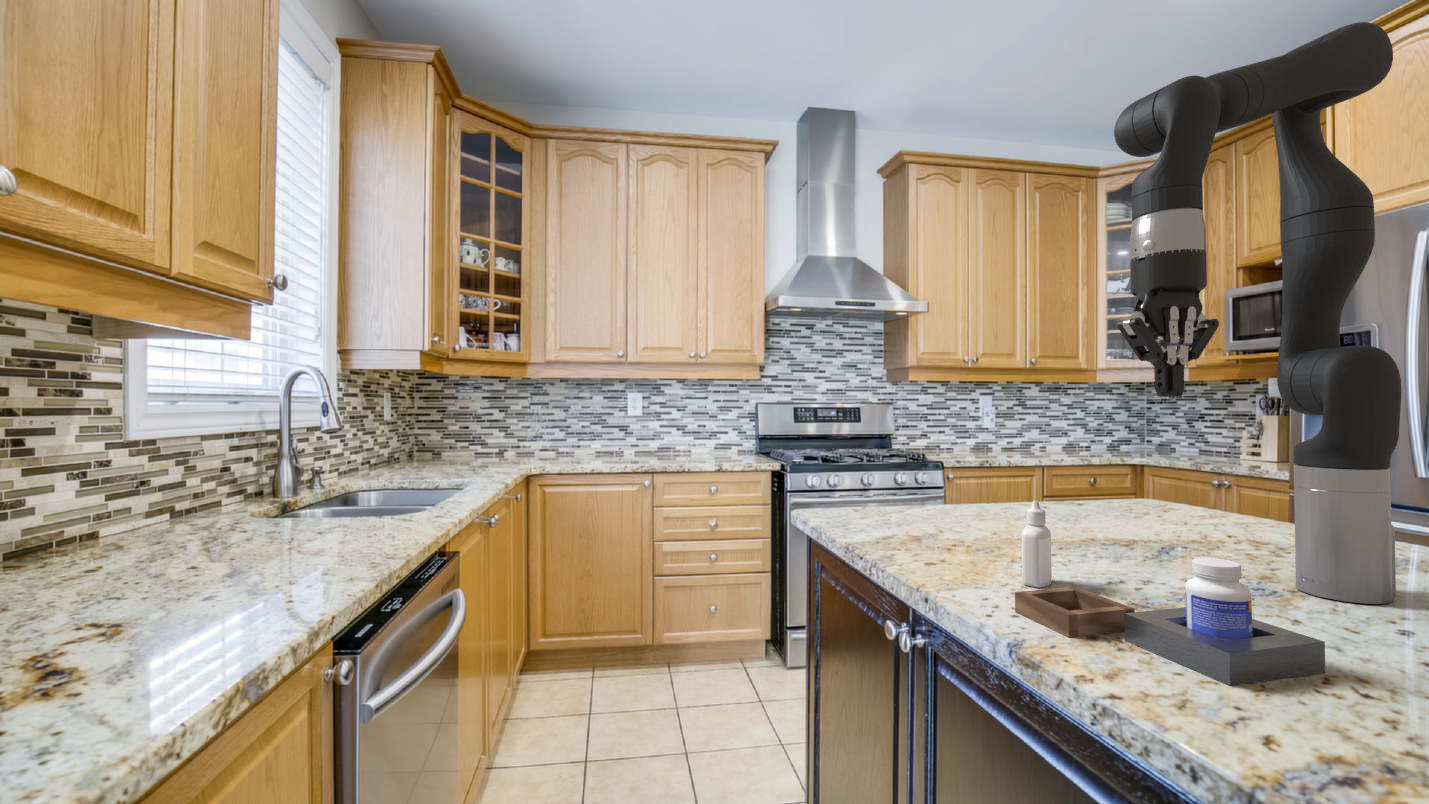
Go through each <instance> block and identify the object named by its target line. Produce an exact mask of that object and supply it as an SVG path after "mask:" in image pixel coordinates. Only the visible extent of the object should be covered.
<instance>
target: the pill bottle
mask: <svg viewBox="0 0 1429 804" xmlns="http://www.w3.org/2000/svg"><path fill="white" fill-rule="evenodd" d="M1191 565H1192V568H1191V569H1192V574H1193V575H1195V577H1193V578H1190V579H1188V580H1187V581H1186V582H1185V586H1184V588H1185V590H1184V591H1185V607H1186V620H1187V628H1190V629H1193V630H1195V631H1198V632H1201V633H1203V634H1206V635H1209V636H1212V637H1214V638H1217V639H1220V640H1223V641H1229V640H1238V639H1246V638H1253V634H1252V619H1253V611H1252V610H1253V609H1252V608H1253V606H1252V601H1253V600H1252V592H1251V590H1250V588H1248V587H1247V586H1246V585H1245V584H1242V583H1241V582H1240V580H1241V579H1242V575H1243V574H1242V565H1241V563H1239V562H1236V561H1233V560H1229V559H1223V558H1213V557H1196V558H1193V559H1192V563H1191Z"/></svg>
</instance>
